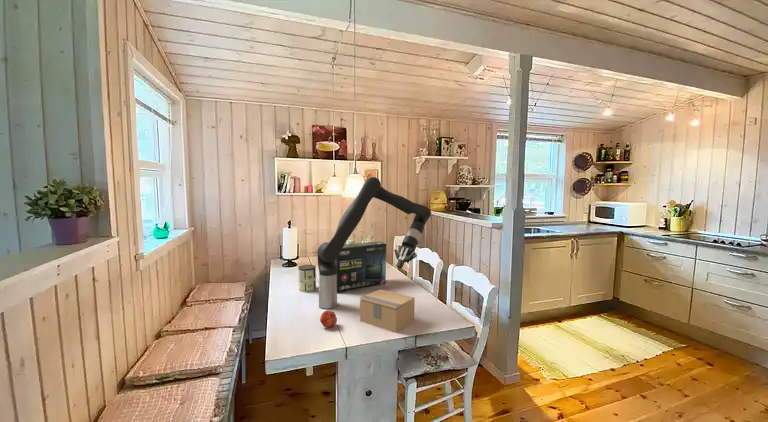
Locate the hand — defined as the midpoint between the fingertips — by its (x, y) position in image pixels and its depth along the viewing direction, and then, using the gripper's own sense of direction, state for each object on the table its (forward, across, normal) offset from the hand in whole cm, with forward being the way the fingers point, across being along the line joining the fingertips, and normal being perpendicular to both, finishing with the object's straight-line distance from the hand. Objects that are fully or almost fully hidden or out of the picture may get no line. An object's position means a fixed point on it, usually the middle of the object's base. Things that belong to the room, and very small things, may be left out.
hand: (398, 267), depth 159 cm
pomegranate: (+38, -18, -4) cm, 42 cm away
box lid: (+16, 0, +3) cm, 16 cm away
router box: (+1, -44, +32) cm, 55 cm away
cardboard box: (+23, 0, +10) cm, 25 cm away
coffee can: (+17, -65, +16) cm, 70 cm away
